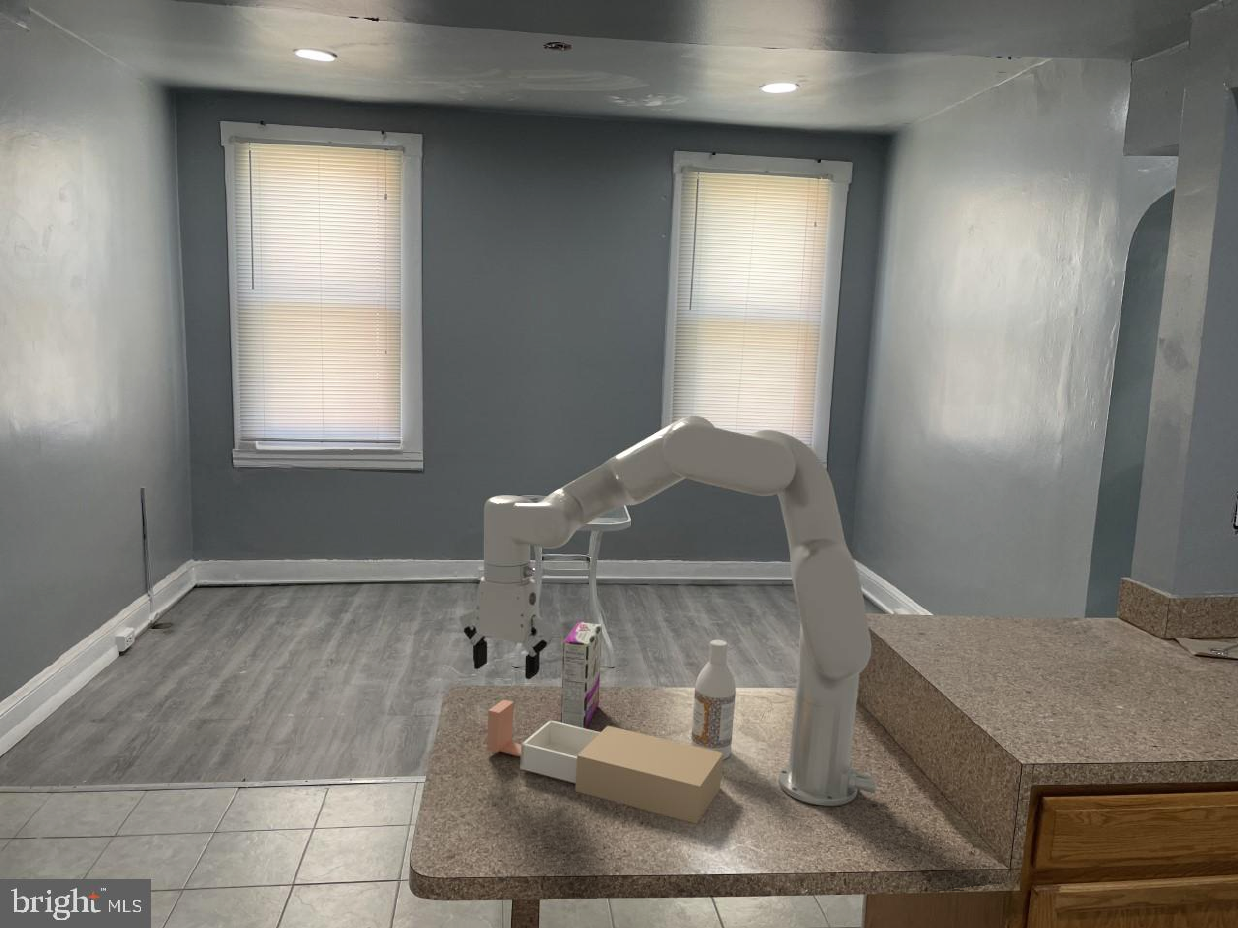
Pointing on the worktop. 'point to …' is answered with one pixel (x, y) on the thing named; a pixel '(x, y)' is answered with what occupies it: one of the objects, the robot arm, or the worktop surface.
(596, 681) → the candy bar box
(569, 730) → the tray
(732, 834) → the worktop surface
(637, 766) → the sleeve
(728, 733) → the bath foam
